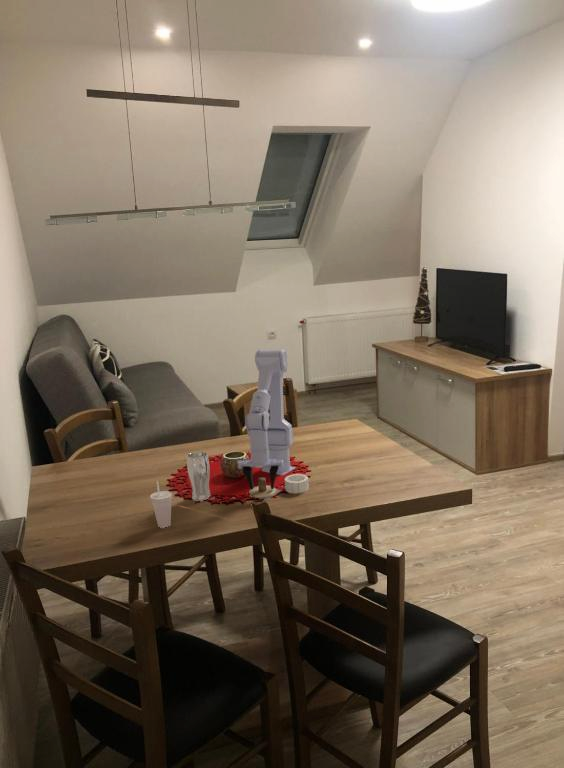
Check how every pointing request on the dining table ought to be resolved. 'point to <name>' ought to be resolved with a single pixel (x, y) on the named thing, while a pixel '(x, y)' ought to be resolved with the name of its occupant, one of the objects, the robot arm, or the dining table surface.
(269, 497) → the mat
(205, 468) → the beer glass
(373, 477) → the dining table surface
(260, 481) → the lid
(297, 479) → the bowl
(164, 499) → the smoothie
